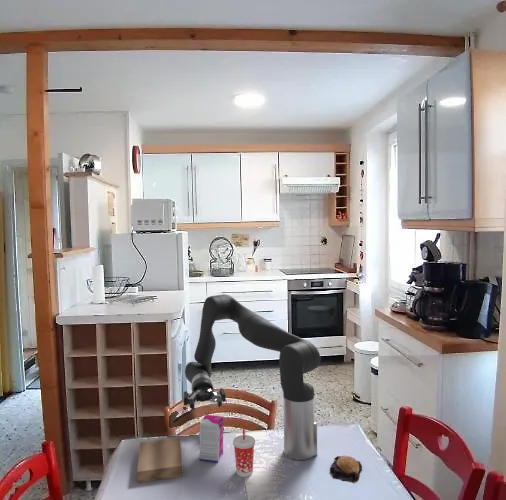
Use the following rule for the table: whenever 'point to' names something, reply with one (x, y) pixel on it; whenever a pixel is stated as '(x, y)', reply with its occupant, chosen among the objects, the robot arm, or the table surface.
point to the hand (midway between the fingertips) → (206, 405)
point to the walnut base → (159, 460)
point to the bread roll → (346, 469)
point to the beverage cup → (244, 453)
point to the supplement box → (211, 438)
